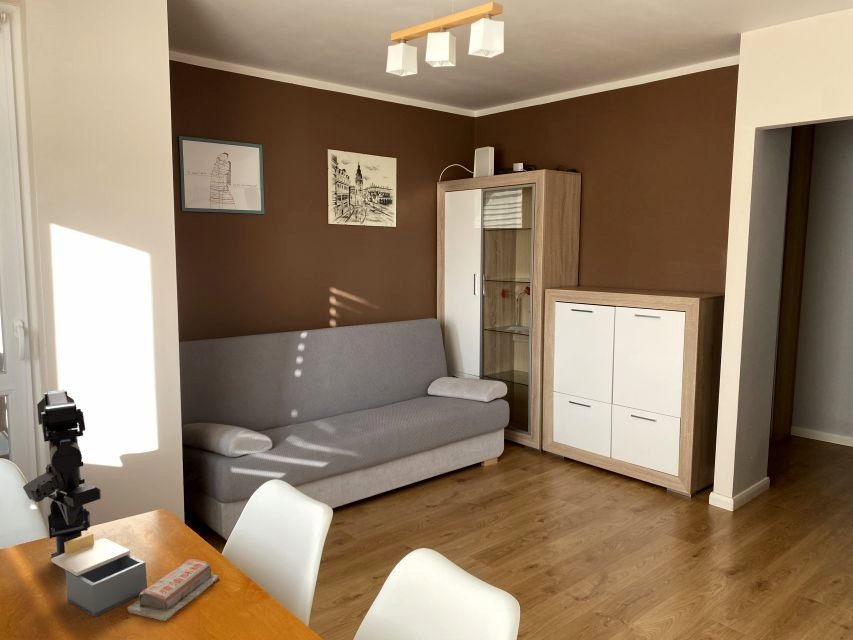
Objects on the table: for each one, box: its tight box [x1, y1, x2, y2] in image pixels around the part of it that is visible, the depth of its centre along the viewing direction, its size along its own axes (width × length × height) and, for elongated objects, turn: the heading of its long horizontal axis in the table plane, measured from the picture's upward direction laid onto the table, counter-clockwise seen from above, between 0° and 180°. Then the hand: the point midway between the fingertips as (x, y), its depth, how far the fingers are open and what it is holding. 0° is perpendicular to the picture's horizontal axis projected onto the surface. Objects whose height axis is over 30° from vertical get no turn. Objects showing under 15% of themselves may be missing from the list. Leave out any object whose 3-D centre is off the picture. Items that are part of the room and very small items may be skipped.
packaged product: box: [127, 558, 220, 621], centre depth 145 cm, size 18×5×10 cm
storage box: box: [64, 553, 148, 618], centre depth 145 cm, size 11×12×7 cm
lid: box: [51, 532, 131, 576], centre depth 147 cm, size 11×12×3 cm
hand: (70, 524), depth 152 cm, fingers closed
